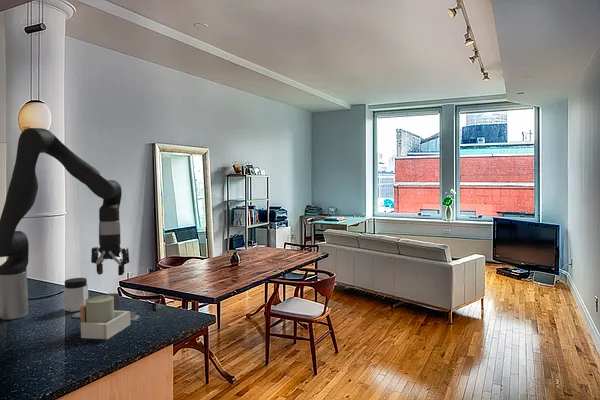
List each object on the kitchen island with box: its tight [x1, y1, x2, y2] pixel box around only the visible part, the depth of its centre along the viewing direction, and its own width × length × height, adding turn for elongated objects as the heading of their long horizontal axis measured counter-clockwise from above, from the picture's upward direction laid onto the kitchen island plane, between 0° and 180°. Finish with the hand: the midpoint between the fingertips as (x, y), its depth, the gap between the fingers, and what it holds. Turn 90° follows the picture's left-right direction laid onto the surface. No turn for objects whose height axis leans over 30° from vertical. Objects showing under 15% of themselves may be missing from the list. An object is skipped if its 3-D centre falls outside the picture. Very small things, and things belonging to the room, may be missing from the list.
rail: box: [72, 311, 140, 322], centre depth 164 cm, size 26×3×1 cm, turn 81°
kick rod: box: [79, 292, 138, 324], centre depth 157 cm, size 12×18×8 cm
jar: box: [63, 277, 89, 313], centre depth 176 cm, size 9×8×12 cm
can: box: [85, 294, 114, 323], centre depth 150 cm, size 9×9×12 cm
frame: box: [80, 310, 131, 340], centre depth 150 cm, size 10×14×5 cm, turn 171°
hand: (110, 274), depth 163 cm, fingers open, 8 cm apart
